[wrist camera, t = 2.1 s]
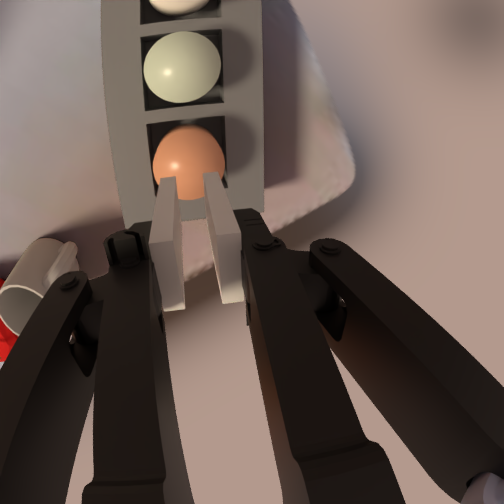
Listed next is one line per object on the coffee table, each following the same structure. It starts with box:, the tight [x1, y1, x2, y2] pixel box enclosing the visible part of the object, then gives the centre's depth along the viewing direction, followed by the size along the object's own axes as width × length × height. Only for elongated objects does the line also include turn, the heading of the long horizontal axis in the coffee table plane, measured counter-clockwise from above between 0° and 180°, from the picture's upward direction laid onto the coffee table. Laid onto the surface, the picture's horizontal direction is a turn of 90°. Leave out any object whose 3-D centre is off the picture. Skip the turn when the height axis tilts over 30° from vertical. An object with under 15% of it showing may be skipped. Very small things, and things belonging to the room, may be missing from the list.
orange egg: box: [153, 124, 225, 200], centre depth 22 cm, size 5×5×4 cm
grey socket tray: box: [101, 0, 264, 229], centre depth 22 cm, size 12×25×5 cm, turn 1°
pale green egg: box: [144, 31, 221, 103], centre depth 19 cm, size 5×5×4 cm
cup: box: [0, 238, 79, 336], centre depth 26 cm, size 7×10×9 cm
